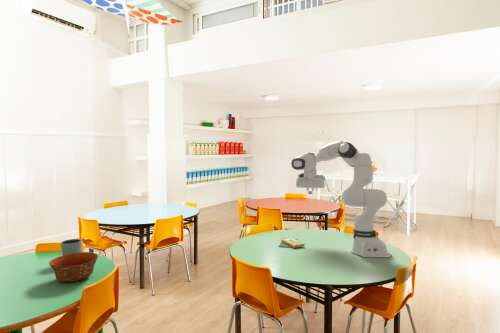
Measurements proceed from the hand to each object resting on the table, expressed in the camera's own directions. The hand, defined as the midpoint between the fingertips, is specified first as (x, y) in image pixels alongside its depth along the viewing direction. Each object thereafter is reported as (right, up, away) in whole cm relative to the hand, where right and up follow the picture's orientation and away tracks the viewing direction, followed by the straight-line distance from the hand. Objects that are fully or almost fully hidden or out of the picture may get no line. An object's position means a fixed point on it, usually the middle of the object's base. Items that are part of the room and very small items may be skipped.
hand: (310, 193), depth 237 cm
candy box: (-11, -31, -18) cm, 37 cm away
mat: (-18, -32, -16) cm, 40 cm away
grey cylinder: (-144, -34, -53) cm, 157 cm away
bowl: (-129, -35, -77) cm, 155 cm away
